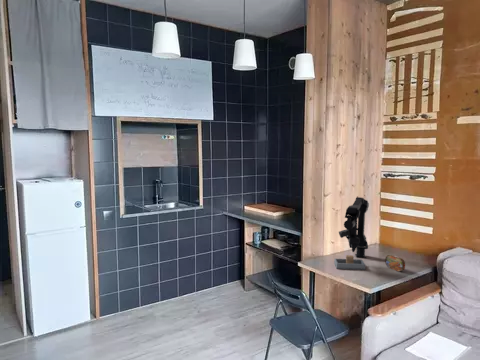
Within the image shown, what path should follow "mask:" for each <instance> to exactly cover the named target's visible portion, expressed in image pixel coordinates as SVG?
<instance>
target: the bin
mask: <svg viewBox="0 0 480 360" xmlns="http://www.w3.org/2000/svg"><path fill="white" fill-rule="evenodd" d="M333 264H334V266H335V269H336V270H354V271H356V270H357V271H359V270H360V271H365V270H366V263H365V262H364V261H363V259H355V258H354V260H353V264H346V258H334V263H333Z"/></svg>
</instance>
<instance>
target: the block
mask: <svg viewBox="0 0 480 360" xmlns="http://www.w3.org/2000/svg"><path fill="white" fill-rule="evenodd" d="M345 259H346V264H353V260H354V259H355V258H354V255H349V254H346V255H345Z"/></svg>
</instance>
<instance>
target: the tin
mask: <svg viewBox="0 0 480 360" xmlns="http://www.w3.org/2000/svg"><path fill="white" fill-rule="evenodd" d="M384 263H385V265H386V267H387V268H388V269H391V270H394V271H396V272H403V271H405V269H406V261H405V259H403V258H402V257H399V256H397V255H393V254H387V255H386V256H385V258H384Z"/></svg>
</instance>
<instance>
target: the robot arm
mask: <svg viewBox="0 0 480 360" xmlns="http://www.w3.org/2000/svg"><path fill="white" fill-rule="evenodd" d="M369 207H370V203H369V201H368V200H367V199H365V198H364V197H361V196H360V197H359V196H358V197H356V198H355V200H354V202H353V203H352V204H351V205H349V206H348V207H346V211H345V215H344V218H345V219H346V220H345V221H344V222H343V227H344V228H345V229H343V230H339V231H338V235H339V237H340V238H341V239H342V238H346V239H347V242H348V246H349V248H350V249H351V252H352V253H354V252H355V251H356V253H355V254H354V255H355V257H356V258H367V256H366V250H368V249H369V245H368V240H367V237H366V235H365V225H366V213H367V212H368V209H369Z"/></svg>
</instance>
